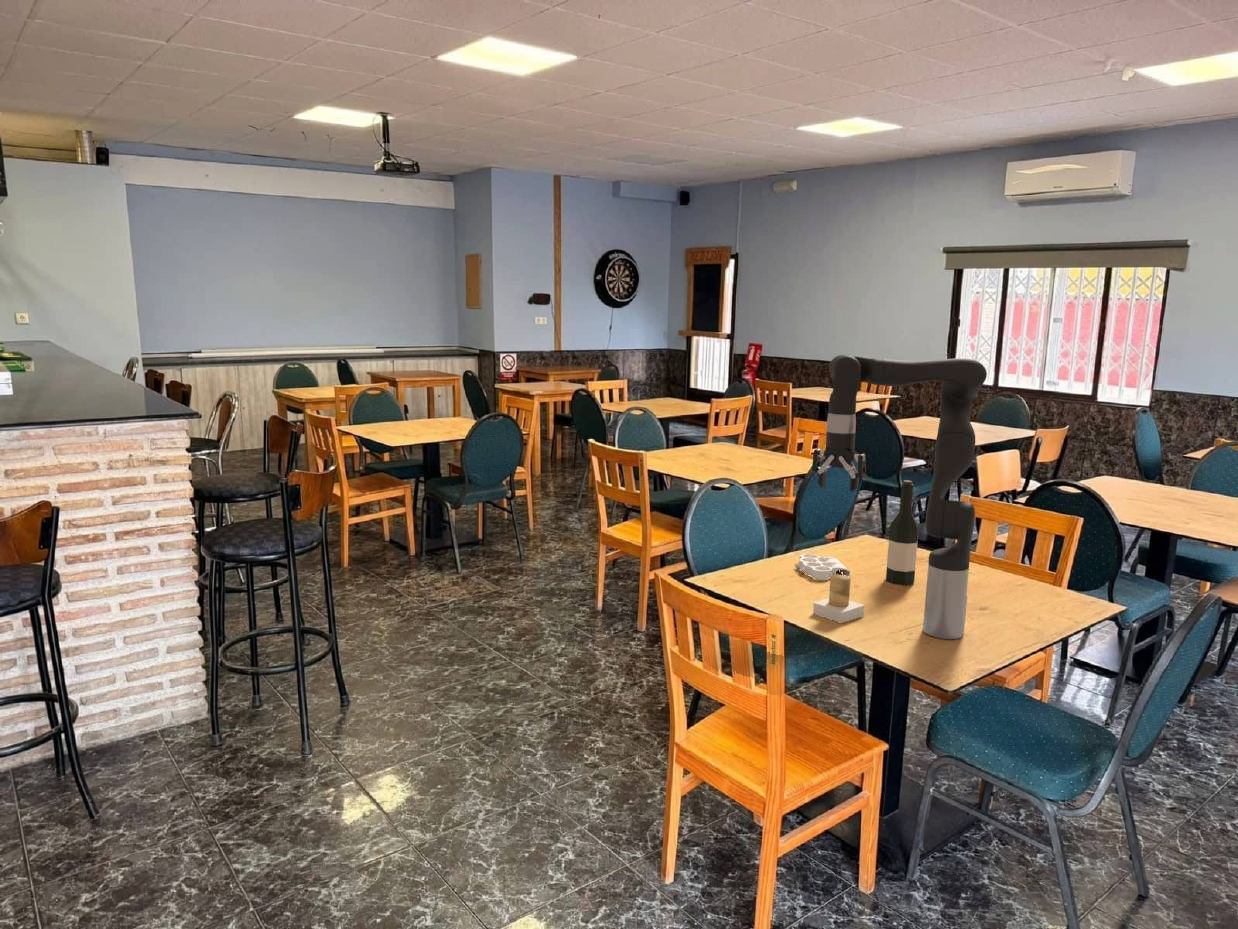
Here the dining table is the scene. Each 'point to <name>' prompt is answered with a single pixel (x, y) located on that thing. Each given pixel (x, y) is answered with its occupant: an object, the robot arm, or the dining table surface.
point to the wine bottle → (903, 541)
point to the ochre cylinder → (839, 590)
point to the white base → (838, 611)
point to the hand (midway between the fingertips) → (837, 489)
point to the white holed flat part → (820, 566)
